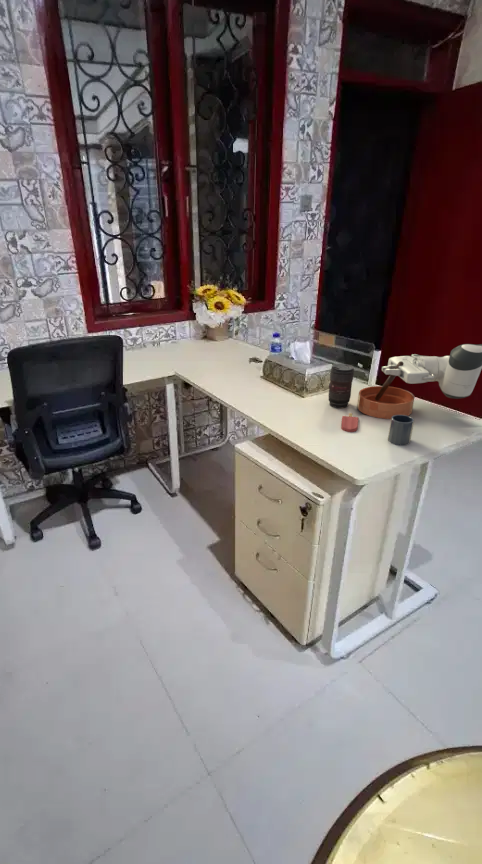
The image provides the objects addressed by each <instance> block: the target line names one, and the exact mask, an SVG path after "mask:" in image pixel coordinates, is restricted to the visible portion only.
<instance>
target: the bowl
mask: <svg viewBox="0 0 482 864" xmlns="http://www.w3.org/2000/svg"><path fill="white" fill-rule="evenodd" d="M382 386H383V385H375V386H367V387H363V388H362V389H360V390H359V391H358V396H357V402H356V403H357V404H356V408H357V410H359V412H360V413H362V414H364V415H366V416H368V417H372V418H377V419H383V420H384V419H385V420H391V417H392V416H394V415H407V416H410V415H412V413H413V408H414V402H415V397H416V396H415V395H414V394H413V393H412V392H410V391H409V390H407V389H403V388H401V387H396V386H395V387H394V386H389V387H388V388H387V390H386V391H385V393H384V394H383V395H382V397H381V398H380V400H378V401H376V400H375V397H376V395H377V394H378V392H379V391H380V389H381V388H382Z"/></svg>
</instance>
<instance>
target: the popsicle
mask: <svg viewBox="0 0 482 864" xmlns="http://www.w3.org/2000/svg"><path fill="white" fill-rule="evenodd" d="M359 419H360V418H359V416H353V413H352V412H349V413H348V415H342V417H341V426H340V428H341V431H343V432H345V433H346V432H347V433H354V432H357V431H358V427H359Z"/></svg>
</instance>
